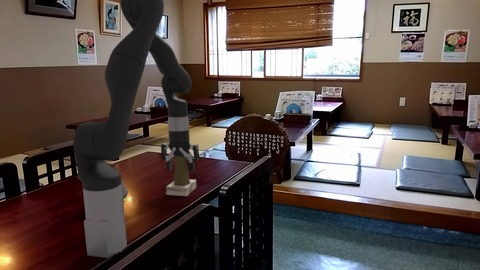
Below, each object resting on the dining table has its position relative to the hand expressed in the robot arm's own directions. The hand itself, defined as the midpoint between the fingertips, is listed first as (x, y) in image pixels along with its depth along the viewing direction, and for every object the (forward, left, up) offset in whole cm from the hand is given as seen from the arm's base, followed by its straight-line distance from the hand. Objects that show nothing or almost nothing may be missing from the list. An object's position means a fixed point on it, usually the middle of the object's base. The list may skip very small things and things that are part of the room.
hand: (180, 171), depth 136 cm
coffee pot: (-20, +20, -8) cm, 29 cm away
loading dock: (0, 0, -8) cm, 8 cm away
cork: (0, 0, -5) cm, 5 cm away
